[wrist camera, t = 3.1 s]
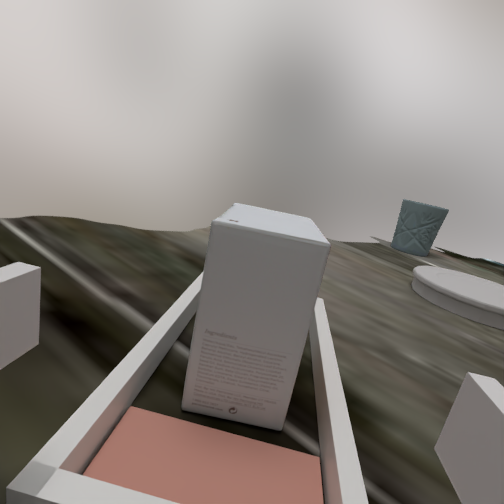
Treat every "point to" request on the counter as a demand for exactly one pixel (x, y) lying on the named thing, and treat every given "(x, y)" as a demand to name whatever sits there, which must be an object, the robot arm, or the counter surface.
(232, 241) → the small box
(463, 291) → the lid
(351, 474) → the guide channel
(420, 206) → the drinking glass
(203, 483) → the pad
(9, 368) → the counter surface
